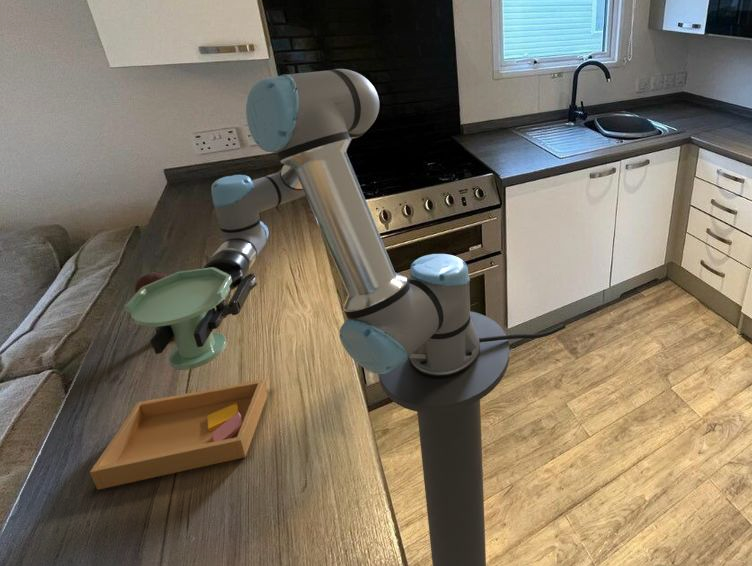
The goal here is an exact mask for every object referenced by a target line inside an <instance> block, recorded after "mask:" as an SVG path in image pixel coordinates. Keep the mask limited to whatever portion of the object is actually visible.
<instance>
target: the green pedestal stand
mask: <svg viewBox="0 0 752 566" xmlns="http://www.w3.org/2000/svg"><path fill="white" fill-rule="evenodd" d="M166 276H167V277H164V278H162V279H160V280H157V281H155V282H153V283H150V284H148V285H146V286H143V287H142V288H140V290H139V291H138V292H137V293H136V292H135V294H134V295H133V296H132V297H131V298H130V299H129V301H128V302H127V303H126V304H125V305H124V306H123V308H124V310H125V313H126V314H130V317H131V320H132V321H133V323H135V324H136V325H138V326H141V327H149V328H157V327H159V326H167V325H170V326H171V329H172V332H173V336H174V342H175V347H174V348H173V349H172V350H171V352H170V353H169V355H168V362H169V365H170V367H171V368H172V369H174V370H177V371H187V370H193V369H196V368H199V367H202V366H205V365H207V364H208V363H210V362H212V361H214V360H215V359H216V358H218V357H220V355H221V354H223V352H224V350H225V349H226V348H227V338H226V336H225V335H224V334H222V333H221V332H215V331H214V332H213V331H212V332H211V333H210V335H209V337H208V339H207V340H206V342H205V344H204V345H203V346H202V347H197V344H196V341H195V337H194V332H195V331H196V329H197V328H198V326H199V325H200V323H201V321H202V320H203V318H204V317H205V315H206V314H207V312H208V311H209V310H211V309H212V308H216V306H217V305H218V304H219V303H220V302H222V301H223V300H224V299H225V298H226V296H227V295H228V293H229V291H230V284H231V283H232V279H231V275H229V274H227V273H225V272H223V271H221V270H219V269H217V268H215V267H210V268H203V267H202V268H196V269H189V270H188V269H187V270H180V271H176V272H174V273H172V274H169V275H166Z"/></svg>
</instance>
